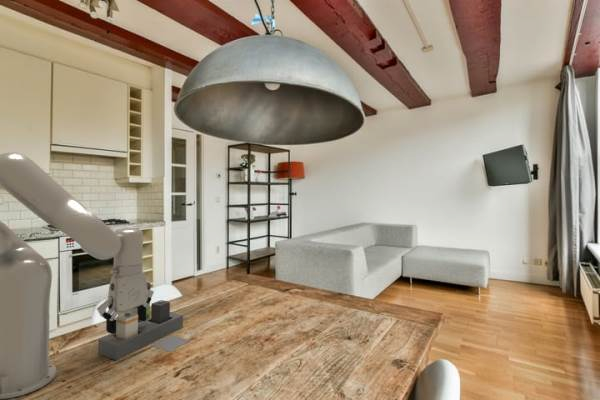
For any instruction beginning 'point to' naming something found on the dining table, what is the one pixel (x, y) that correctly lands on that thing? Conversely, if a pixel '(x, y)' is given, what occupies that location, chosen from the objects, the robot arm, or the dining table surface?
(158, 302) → the twin plug
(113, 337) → the dark grey socket base
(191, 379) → the dining table surface
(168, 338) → the mat
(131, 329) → the plug
